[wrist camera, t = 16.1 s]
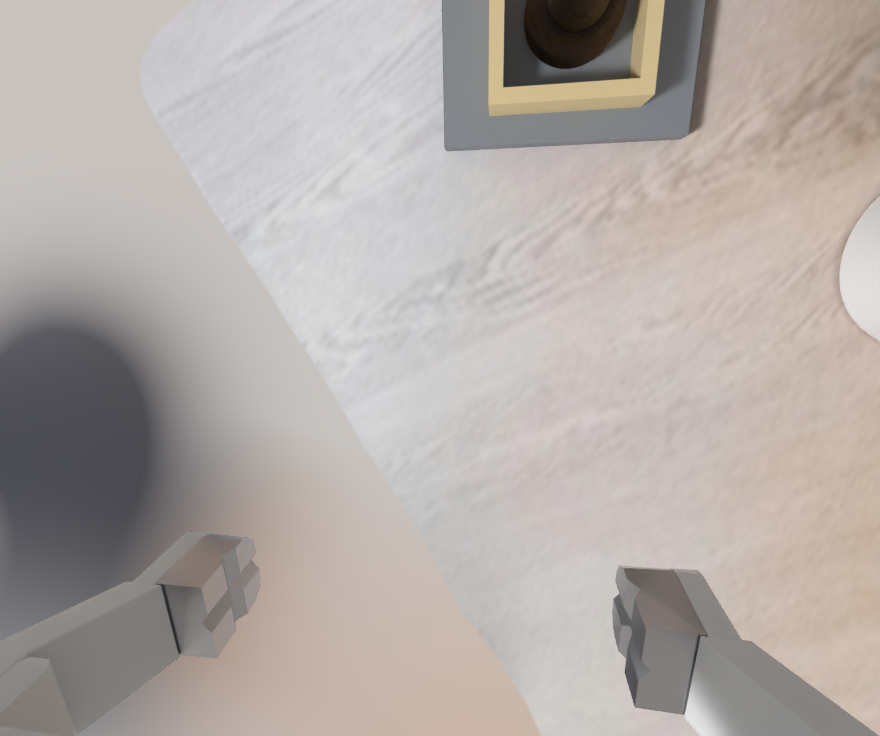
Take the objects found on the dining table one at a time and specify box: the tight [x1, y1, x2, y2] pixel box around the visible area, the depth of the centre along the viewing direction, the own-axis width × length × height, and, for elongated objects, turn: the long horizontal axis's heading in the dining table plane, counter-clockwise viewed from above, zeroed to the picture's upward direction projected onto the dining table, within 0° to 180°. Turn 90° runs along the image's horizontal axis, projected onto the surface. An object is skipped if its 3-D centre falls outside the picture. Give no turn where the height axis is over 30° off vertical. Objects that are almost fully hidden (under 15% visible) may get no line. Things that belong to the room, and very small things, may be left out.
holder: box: [442, 0, 706, 151], centre depth 30 cm, size 18×16×4 cm
